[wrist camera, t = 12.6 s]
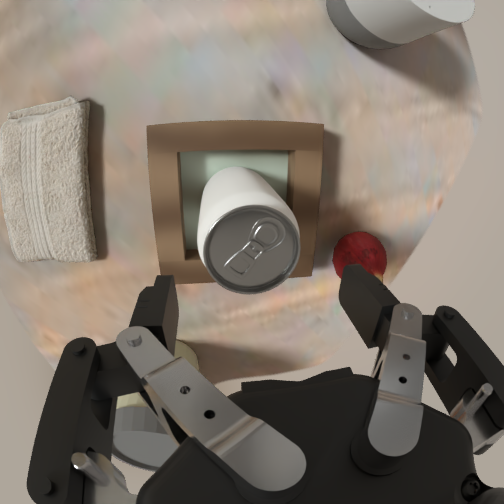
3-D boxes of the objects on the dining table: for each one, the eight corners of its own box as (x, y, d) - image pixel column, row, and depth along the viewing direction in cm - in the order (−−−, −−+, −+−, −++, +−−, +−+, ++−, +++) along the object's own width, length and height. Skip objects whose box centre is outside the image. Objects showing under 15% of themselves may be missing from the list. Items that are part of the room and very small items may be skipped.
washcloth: (93, 93, 22) (81, 91, 19) (103, 257, 29) (94, 270, 26) (10, 113, 20) (-6, 115, 17) (26, 256, 27) (14, 267, 25)
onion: (313, 257, 32) (341, 297, 25) (338, 213, 30) (374, 243, 23) (351, 273, 34) (382, 310, 27) (375, 233, 32) (413, 263, 25)
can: (282, 194, 27) (329, 244, 17) (239, 242, 29) (257, 316, 18) (231, 151, 25) (246, 172, 14) (188, 204, 27) (172, 262, 16)
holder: (154, 125, 24) (146, 125, 21) (311, 123, 26) (323, 124, 22) (166, 267, 30) (162, 284, 27) (302, 260, 32) (311, 276, 29)
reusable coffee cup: (213, 387, 40) (219, 474, 26) (133, 385, 38) (121, 469, 24) (208, 326, 34) (212, 431, 21) (112, 325, 33) (81, 421, 19)
